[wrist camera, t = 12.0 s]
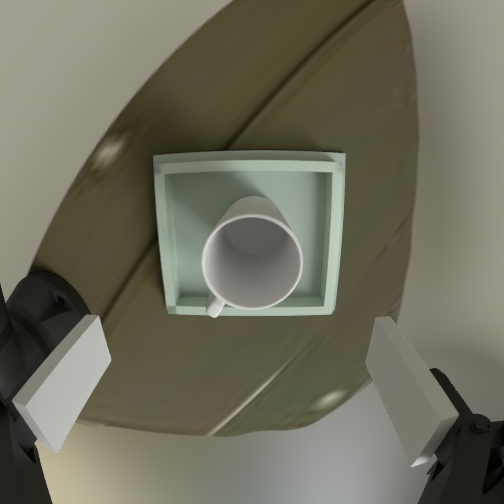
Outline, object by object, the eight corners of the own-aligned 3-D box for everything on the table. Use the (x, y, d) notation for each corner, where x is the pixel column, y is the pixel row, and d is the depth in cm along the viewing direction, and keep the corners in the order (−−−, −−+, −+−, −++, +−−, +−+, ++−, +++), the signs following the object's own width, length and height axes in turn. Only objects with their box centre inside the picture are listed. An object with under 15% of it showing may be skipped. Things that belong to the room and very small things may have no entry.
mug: (246, 179, 29) (239, 192, 18) (299, 217, 30) (323, 253, 19) (193, 256, 32) (160, 308, 21) (243, 289, 33) (237, 355, 22)
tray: (167, 309, 35) (161, 320, 32) (154, 155, 29) (144, 155, 26) (333, 309, 34) (339, 321, 31) (344, 153, 29) (352, 153, 26)
